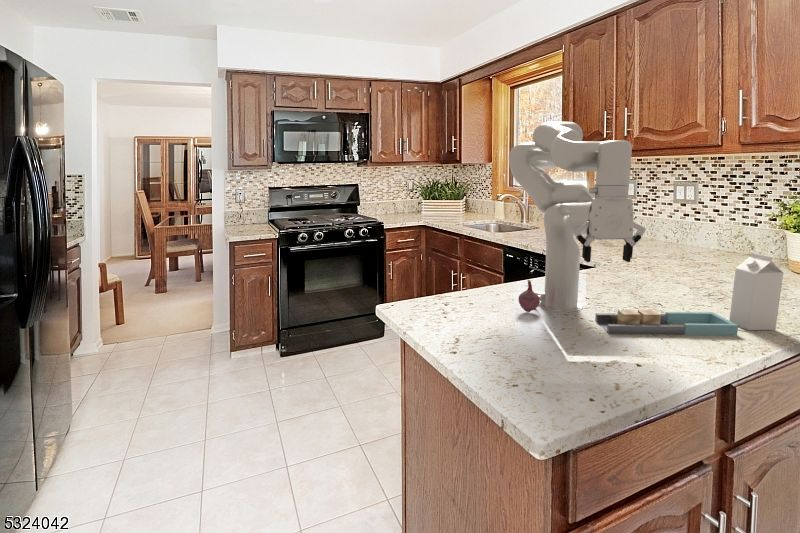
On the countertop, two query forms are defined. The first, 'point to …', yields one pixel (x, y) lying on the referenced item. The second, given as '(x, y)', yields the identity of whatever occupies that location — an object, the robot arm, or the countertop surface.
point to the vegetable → (529, 299)
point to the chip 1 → (628, 317)
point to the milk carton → (756, 293)
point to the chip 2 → (649, 317)
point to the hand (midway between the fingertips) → (606, 261)
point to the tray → (715, 328)
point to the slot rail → (637, 326)
